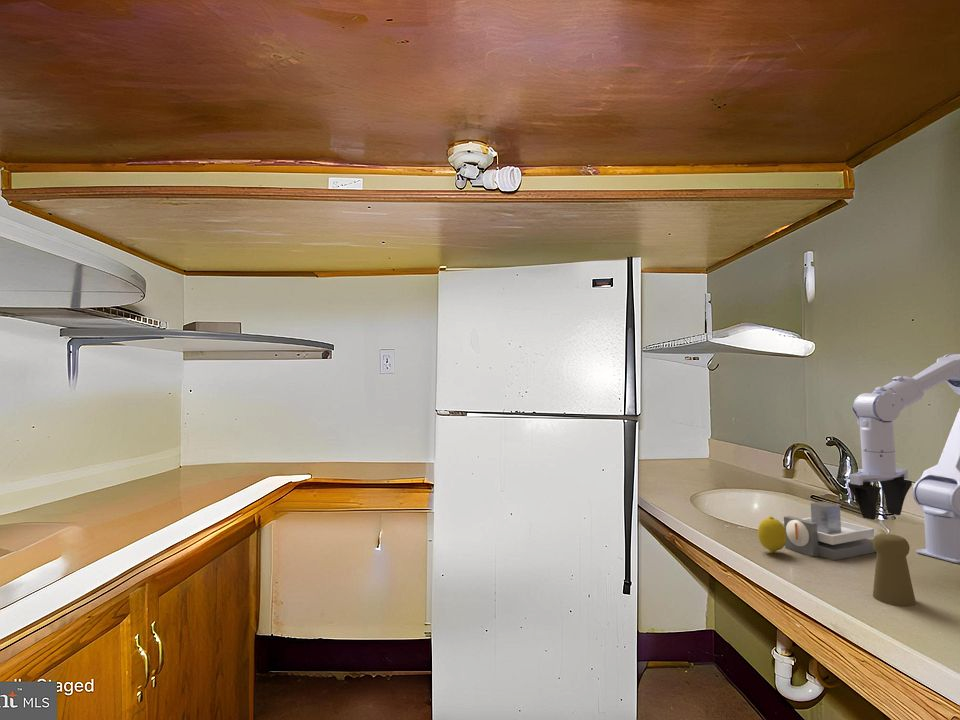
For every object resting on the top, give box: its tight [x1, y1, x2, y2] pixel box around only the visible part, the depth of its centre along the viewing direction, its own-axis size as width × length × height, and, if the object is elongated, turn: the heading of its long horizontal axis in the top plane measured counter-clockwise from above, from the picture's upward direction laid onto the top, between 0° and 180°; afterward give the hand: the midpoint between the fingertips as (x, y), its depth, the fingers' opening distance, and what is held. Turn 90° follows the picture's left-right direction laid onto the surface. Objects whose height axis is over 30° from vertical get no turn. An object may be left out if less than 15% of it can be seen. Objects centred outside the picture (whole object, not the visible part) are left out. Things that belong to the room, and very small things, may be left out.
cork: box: [872, 533, 917, 607], centre depth 96 cm, size 6×6×11 cm
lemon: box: [757, 516, 786, 554], centre depth 122 cm, size 6×6×8 cm
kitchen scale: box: [780, 515, 877, 561], centre depth 125 cm, size 16×14×7 cm
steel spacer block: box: [810, 501, 842, 534], centre depth 125 cm, size 4×4×6 cm
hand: (881, 516), depth 114 cm, fingers open, 7 cm apart
